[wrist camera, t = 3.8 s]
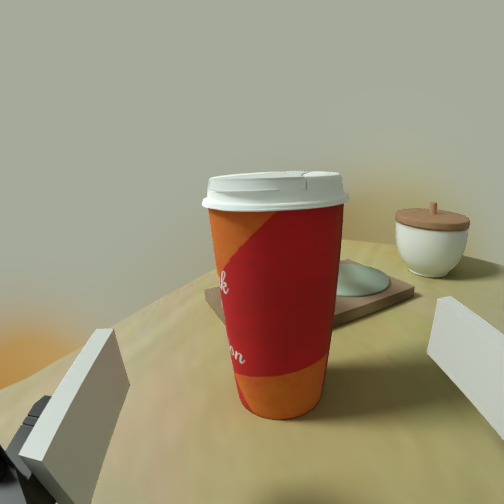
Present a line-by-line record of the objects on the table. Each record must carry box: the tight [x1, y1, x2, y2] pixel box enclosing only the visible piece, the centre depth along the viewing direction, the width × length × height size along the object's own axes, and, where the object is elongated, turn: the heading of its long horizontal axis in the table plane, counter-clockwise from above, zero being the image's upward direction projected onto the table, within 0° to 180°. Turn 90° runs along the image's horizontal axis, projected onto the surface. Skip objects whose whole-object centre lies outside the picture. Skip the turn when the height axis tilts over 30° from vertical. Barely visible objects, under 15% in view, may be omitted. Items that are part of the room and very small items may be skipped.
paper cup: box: [202, 171, 350, 420], centre depth 18 cm, size 8×8×14 cm
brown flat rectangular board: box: [205, 259, 415, 327], centre depth 34 cm, size 20×12×2 cm, turn 114°
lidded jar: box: [395, 202, 470, 278], centre depth 39 cm, size 11×11×9 cm
